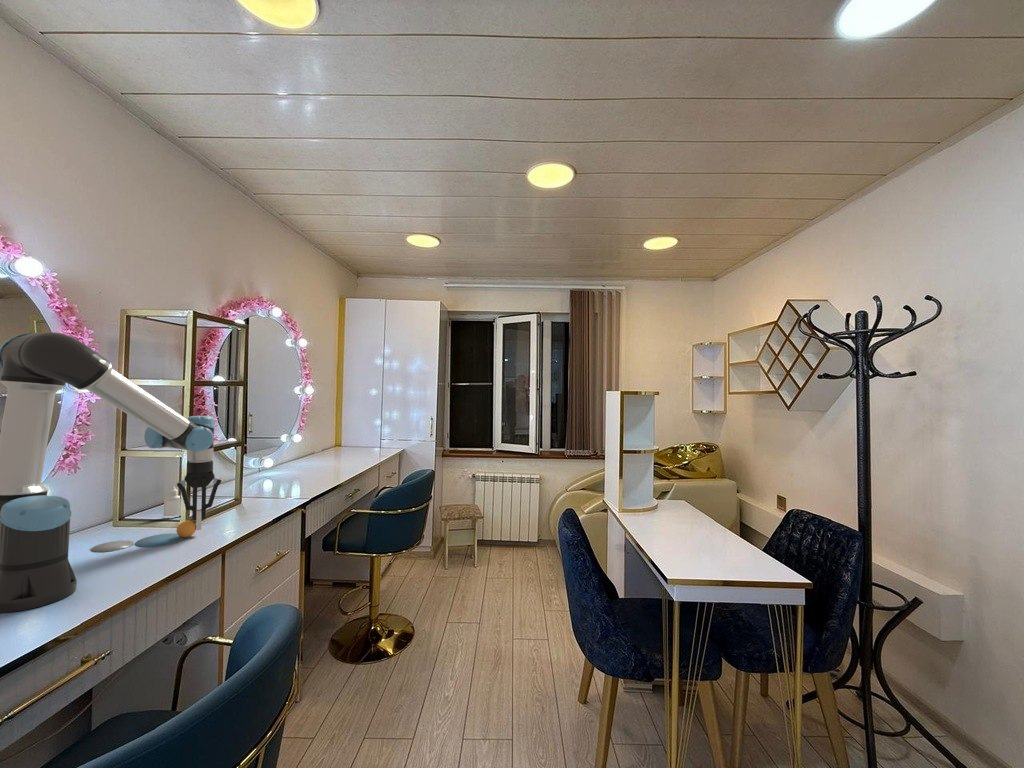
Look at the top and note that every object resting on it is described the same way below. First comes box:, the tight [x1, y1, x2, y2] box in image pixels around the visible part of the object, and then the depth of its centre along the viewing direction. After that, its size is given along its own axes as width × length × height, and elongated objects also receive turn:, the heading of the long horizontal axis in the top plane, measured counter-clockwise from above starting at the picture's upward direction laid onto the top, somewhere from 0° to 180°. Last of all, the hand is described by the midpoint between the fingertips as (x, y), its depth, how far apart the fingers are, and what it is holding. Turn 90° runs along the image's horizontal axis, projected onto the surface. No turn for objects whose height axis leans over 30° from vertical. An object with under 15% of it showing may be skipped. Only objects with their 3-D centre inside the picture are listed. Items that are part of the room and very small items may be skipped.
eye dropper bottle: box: [163, 486, 181, 517], centre depth 174 cm, size 4×6×12 cm
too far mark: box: [90, 540, 134, 553], centre depth 142 cm, size 10×10×1 cm
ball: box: [176, 520, 197, 538], centre depth 153 cm, size 6×6×6 cm
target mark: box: [135, 532, 186, 548], centre depth 149 cm, size 13×13×1 cm
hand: (198, 528), depth 155 cm, fingers closed
